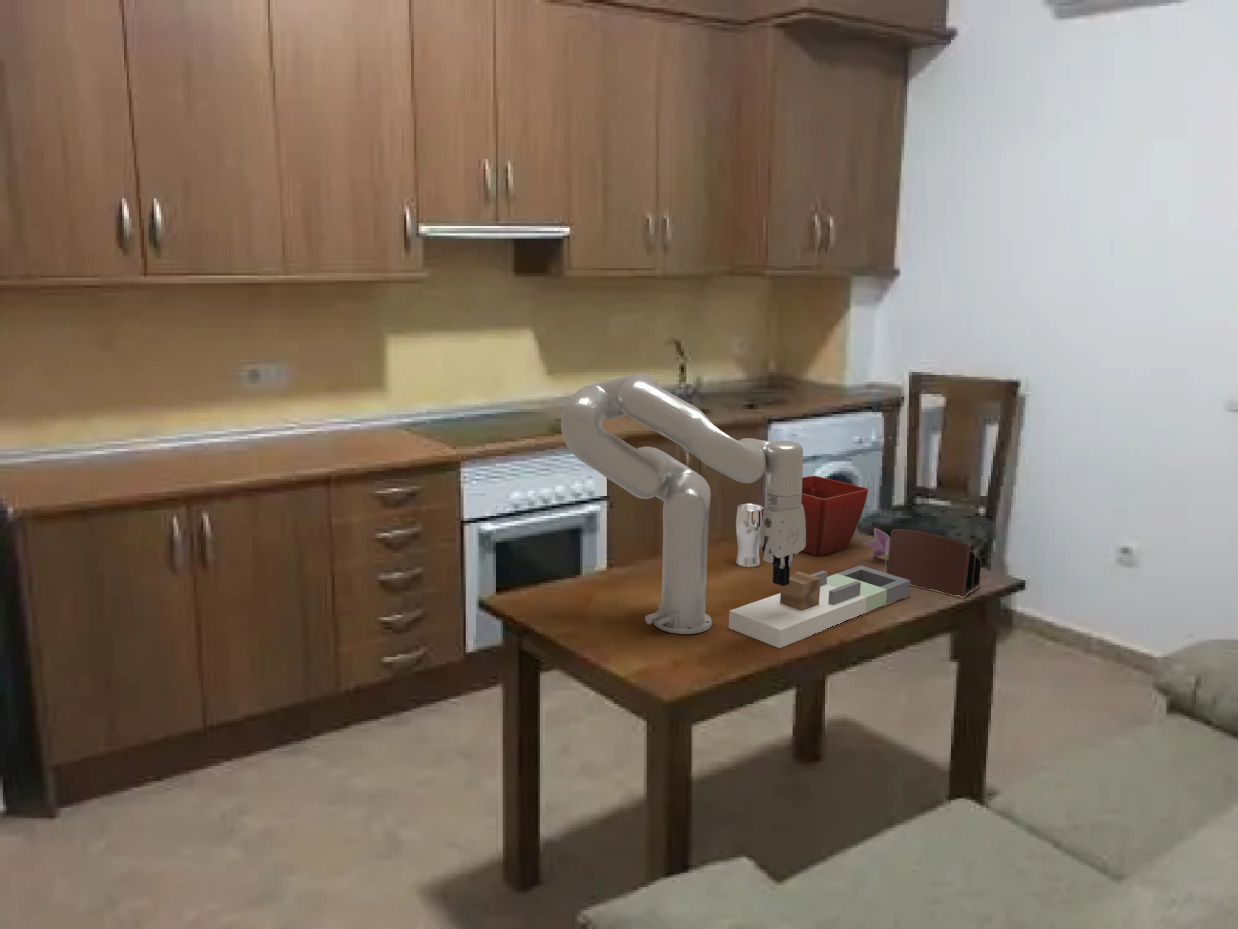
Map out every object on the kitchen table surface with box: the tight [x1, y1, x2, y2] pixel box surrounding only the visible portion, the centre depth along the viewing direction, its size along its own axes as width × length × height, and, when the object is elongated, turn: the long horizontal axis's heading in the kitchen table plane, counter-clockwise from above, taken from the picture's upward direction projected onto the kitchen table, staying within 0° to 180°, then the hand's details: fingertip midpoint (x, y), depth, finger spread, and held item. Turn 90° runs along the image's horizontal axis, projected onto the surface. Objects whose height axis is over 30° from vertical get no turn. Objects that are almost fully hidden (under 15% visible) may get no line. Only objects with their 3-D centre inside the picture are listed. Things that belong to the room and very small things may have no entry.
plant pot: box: [801, 475, 869, 556], centre depth 282 cm, size 19×19×17 cm
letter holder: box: [886, 528, 982, 597], centre depth 255 cm, size 10×20×14 cm, turn 51°
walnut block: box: [780, 571, 821, 611], centre depth 229 cm, size 6×6×6 cm
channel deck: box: [728, 565, 911, 649], centre depth 236 cm, size 48×14×7 cm, turn 132°
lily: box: [862, 527, 890, 569], centre depth 269 cm, size 12×12×10 cm
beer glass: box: [735, 503, 765, 568], centre depth 267 cm, size 7×7×15 cm
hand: (780, 583), depth 223 cm, fingers closed
